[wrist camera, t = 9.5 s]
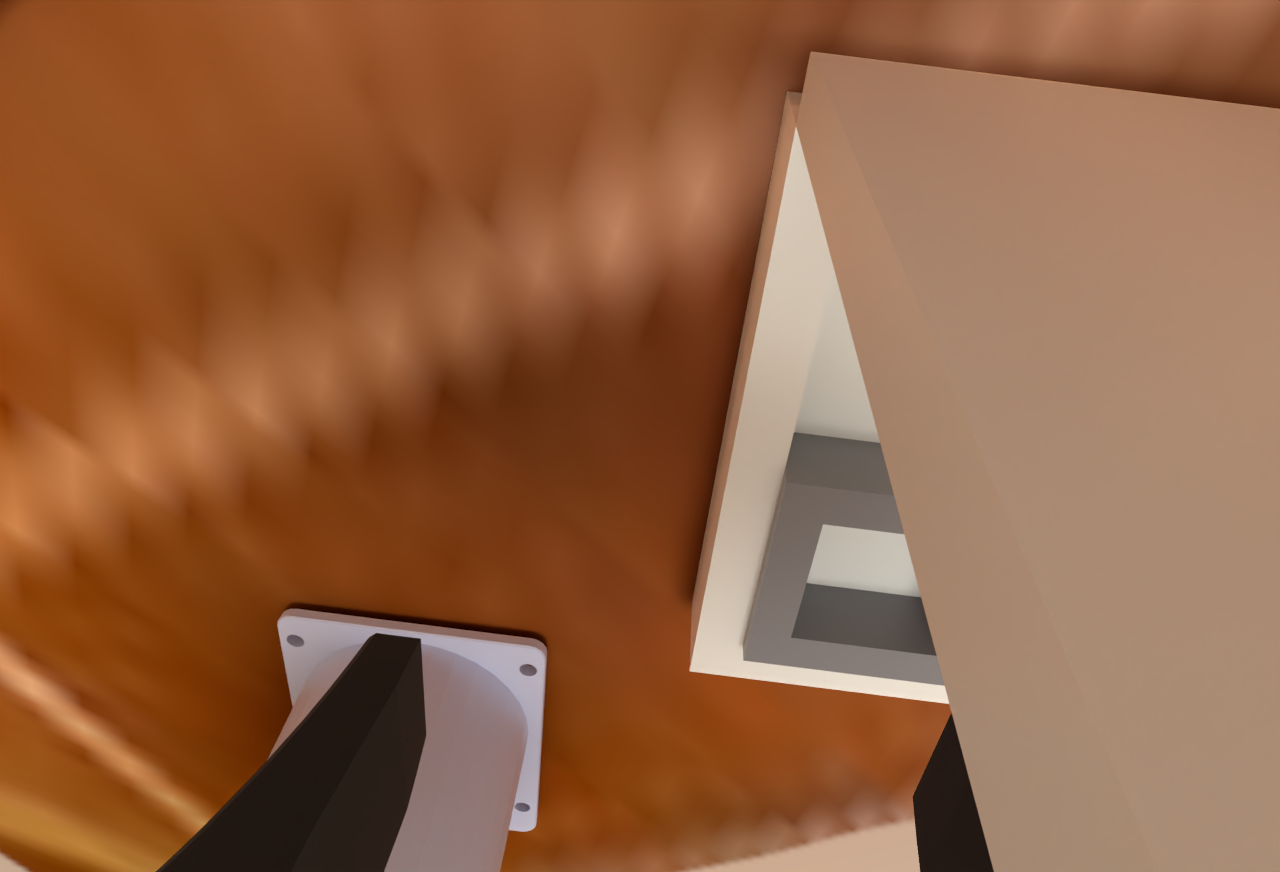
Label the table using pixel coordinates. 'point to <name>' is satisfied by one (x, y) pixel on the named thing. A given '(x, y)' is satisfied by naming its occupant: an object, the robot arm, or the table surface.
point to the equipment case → (1021, 450)
